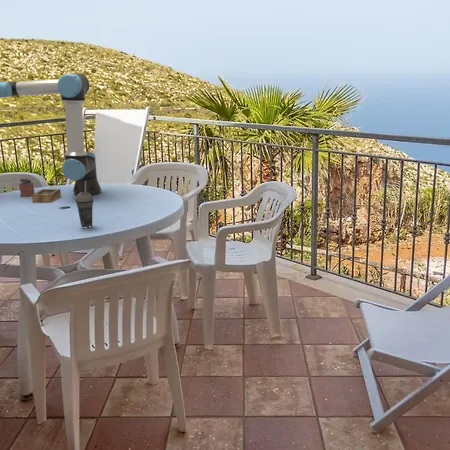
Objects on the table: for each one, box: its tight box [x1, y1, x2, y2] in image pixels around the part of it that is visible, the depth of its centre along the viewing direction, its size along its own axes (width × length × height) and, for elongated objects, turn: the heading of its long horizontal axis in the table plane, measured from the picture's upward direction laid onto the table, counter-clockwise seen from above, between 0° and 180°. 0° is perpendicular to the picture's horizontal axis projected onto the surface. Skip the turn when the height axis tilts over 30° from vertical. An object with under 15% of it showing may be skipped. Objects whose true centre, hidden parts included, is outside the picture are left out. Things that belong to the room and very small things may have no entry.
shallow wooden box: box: [31, 188, 62, 204], centre depth 271 cm, size 10×14×4 cm
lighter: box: [18, 178, 35, 198], centre depth 279 cm, size 8×3×10 cm, turn 84°
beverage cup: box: [75, 181, 94, 228], centre depth 217 cm, size 7×7×20 cm
